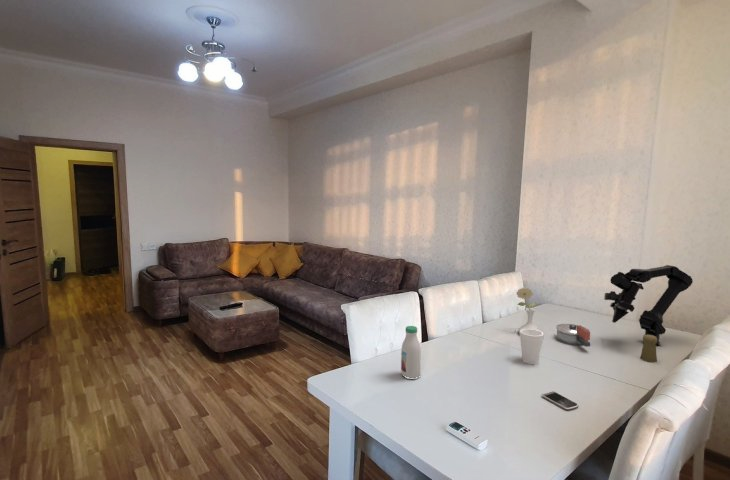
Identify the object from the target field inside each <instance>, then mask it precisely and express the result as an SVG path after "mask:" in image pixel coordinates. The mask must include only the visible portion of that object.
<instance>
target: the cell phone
mask: <svg viewBox="0 0 730 480" xmlns="http://www.w3.org/2000/svg"><path fill="white" fill-rule="evenodd" d="M540 397H541V398H543V399H544V400H546V401H548V402H550V403H551V404H553V405H554V406H557V407H559V408H561V409H562V410H564V411H566V412H569V411H573V410H576V409H578V407H579V404H578V403H576V402H575V401H573V400H571V399H570V398H567V397H565V396H563V395H562V394H559V393H558V392H556V391H551V392H547V393H542V394H540Z"/></svg>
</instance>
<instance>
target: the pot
mask: <svg viewBox="0 0 730 480" xmlns="http://www.w3.org/2000/svg"><path fill="white" fill-rule="evenodd" d="M556 340H557V341H558V342H560V343H563V344H566V345H569V346H570V345H571V346H575V347H576V346H577V347H578V346H579V347H580V346H581V347H582V346H583V347H584V348H585V347H586V348H588V347H591V342H590V341H589V340H585V339H584V338H582V337H581V336H578V335H570V334H566V333H562V332H560V331H558V330H557V329H556Z"/></svg>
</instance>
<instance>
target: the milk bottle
mask: <svg viewBox="0 0 730 480" xmlns="http://www.w3.org/2000/svg"><path fill="white" fill-rule="evenodd" d="M417 334H418V327H417V326H414V325H407V326H405V338H404V340H403V342H402V344H401V353H400V354H401V359H400V365H401V366H400V375H401V374H402V375H404V376H406V377H409V378H416V377H419V376H420V377H421V372H422V371H421V369H422V368H421V364H422V363H421V360H422V356H421V355H422V352H421V351H422V350H421V349H422V348H421V343H420V341H419V339H418V335H417ZM402 375H401V376H402ZM420 377H419V378H420Z"/></svg>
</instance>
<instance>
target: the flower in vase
mask: <svg viewBox="0 0 730 480" xmlns="http://www.w3.org/2000/svg"><path fill="white" fill-rule="evenodd" d="M515 293H516V296H517V297H518V298H520V299H523V300H524V302H523V301H520V302H518V303H517V306H521V307H524V306H526V308H525V311H526V313H527V322H526V323H525V324H523V325H521V326H520V327H519V328H518V329H517V332H518V333H519V334H520V330H522V329H534V330H538V331H541V330H540V329H539V327H538V326H536V325H535V324H534V323H533V316H534V313H535V312H536V308H533V307H534V306H536V304H537V302H534V303H529V305H528V304H527V299H530V298H531V297H532V296H533V291H532V289H530V288H529V287H521V288H519V289H518V290H517V291H516V292H515Z"/></svg>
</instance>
